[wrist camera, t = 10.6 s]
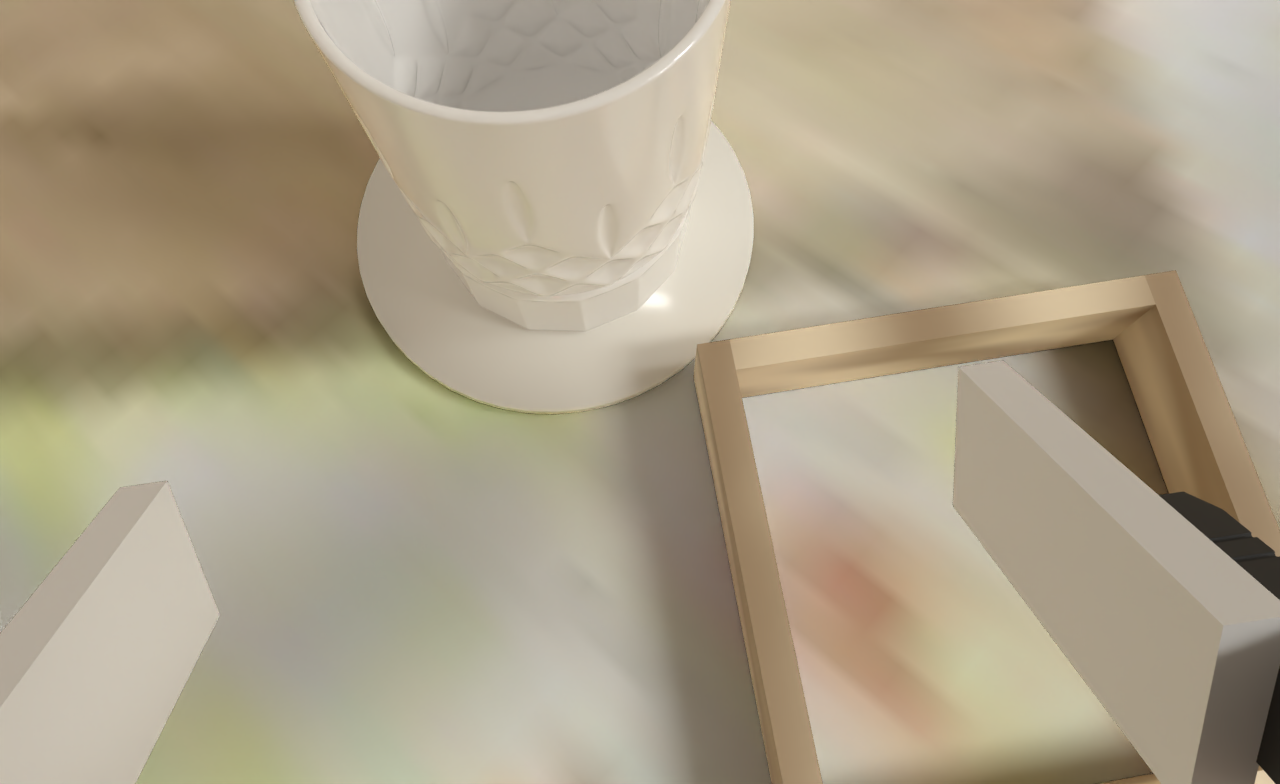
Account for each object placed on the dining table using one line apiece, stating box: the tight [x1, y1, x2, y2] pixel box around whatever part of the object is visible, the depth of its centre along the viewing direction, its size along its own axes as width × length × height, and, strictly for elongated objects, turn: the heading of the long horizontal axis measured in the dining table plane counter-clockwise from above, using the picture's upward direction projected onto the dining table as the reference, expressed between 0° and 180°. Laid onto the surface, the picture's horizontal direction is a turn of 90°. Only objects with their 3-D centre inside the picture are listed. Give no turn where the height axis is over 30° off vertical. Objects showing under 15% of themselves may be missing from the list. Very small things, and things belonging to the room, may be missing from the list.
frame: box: [693, 270, 1280, 784], centre depth 21 cm, size 12×12×2 cm
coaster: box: [357, 120, 754, 414], centre depth 26 cm, size 11×11×1 cm
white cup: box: [294, 0, 731, 331], centre depth 21 cm, size 8×8×10 cm
